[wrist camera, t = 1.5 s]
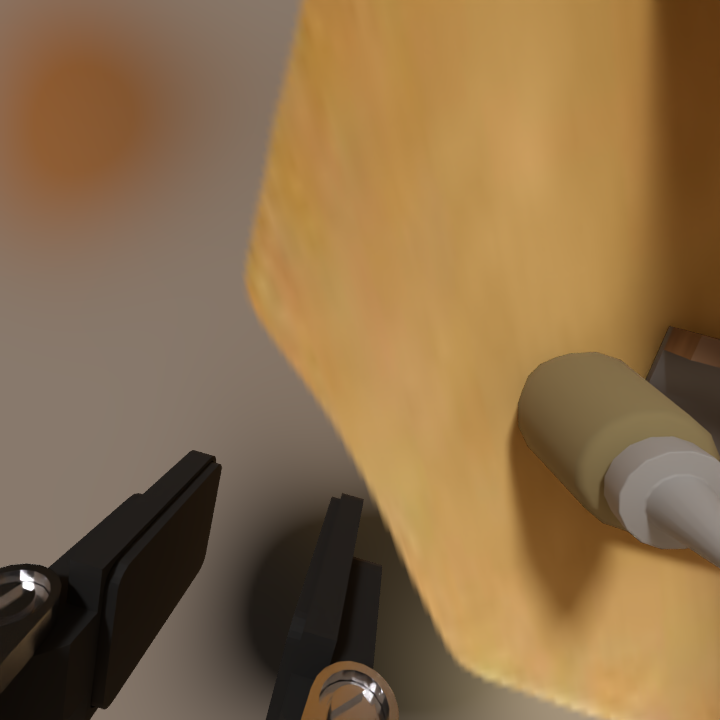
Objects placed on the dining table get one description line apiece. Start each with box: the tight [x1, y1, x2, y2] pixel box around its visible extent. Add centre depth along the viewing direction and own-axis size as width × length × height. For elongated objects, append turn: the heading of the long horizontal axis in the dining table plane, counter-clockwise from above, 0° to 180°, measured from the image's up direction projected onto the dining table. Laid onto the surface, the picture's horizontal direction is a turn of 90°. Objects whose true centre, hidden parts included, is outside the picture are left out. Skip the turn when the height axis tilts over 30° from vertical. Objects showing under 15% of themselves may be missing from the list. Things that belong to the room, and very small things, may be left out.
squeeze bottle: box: [518, 352, 720, 568], centre depth 23 cm, size 8×8×18 cm
